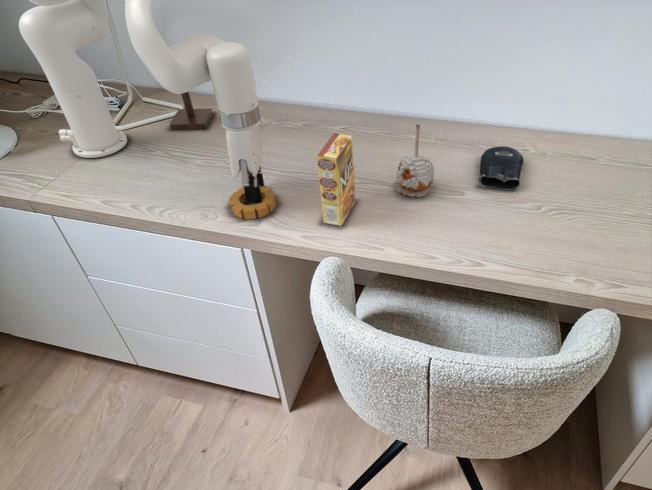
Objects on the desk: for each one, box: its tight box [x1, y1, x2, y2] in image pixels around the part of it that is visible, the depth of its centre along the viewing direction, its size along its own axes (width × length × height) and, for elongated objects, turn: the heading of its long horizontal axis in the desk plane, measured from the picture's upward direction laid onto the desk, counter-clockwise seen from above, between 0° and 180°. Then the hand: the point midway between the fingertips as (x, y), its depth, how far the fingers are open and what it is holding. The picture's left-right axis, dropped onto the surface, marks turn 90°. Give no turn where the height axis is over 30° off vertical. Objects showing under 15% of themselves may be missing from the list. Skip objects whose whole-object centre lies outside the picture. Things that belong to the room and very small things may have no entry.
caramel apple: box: [395, 122, 435, 198], centre depth 101 cm, size 8×8×15 cm
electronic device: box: [477, 145, 524, 191], centre depth 110 cm, size 9×6×15 cm
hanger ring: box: [228, 185, 277, 220], centre depth 102 cm, size 9×9×2 cm
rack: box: [169, 91, 214, 131], centre depth 127 cm, size 9×9×12 cm
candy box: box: [316, 133, 356, 227], centre depth 95 cm, size 9×4×15 cm, turn 162°
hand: (256, 194), depth 105 cm, fingers open, 3 cm apart
